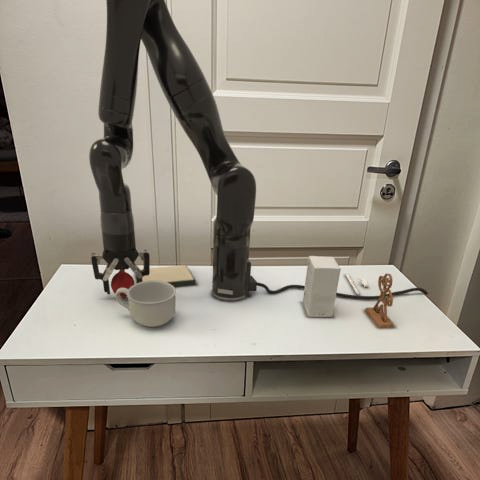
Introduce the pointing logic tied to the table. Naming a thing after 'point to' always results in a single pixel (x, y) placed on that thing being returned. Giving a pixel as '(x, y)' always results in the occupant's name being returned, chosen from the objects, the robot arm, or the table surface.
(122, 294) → the pomegranate
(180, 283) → the notebook
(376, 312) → the brown openwork figurine
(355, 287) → the picture light
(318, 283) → the small box
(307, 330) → the table surface
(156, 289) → the teacup
